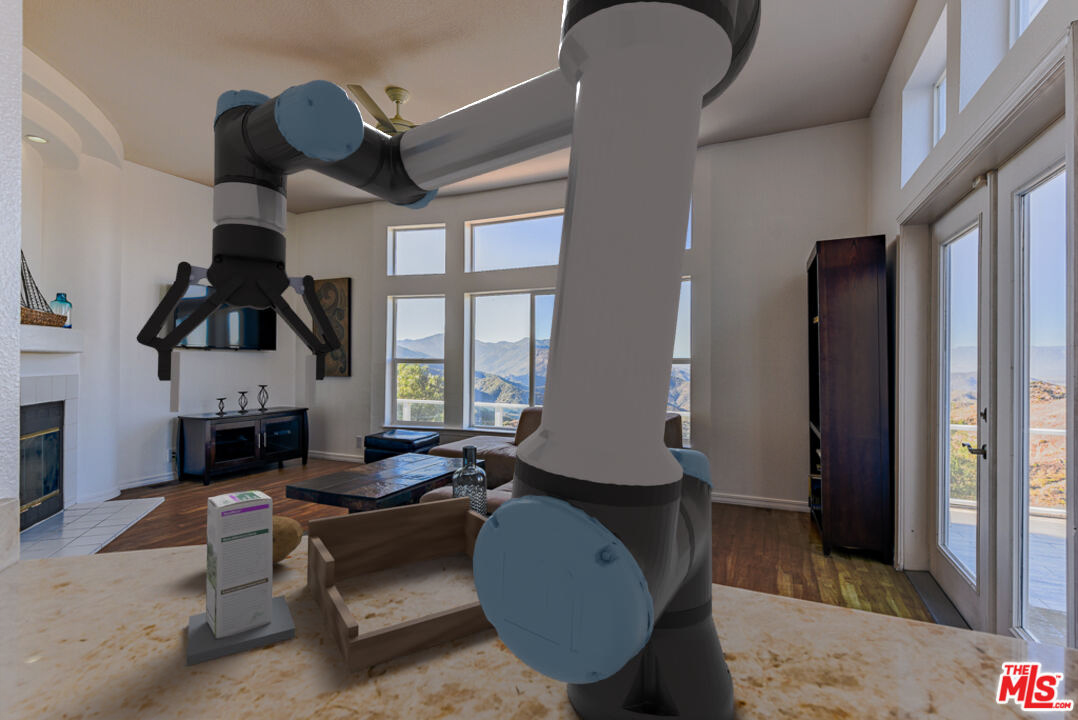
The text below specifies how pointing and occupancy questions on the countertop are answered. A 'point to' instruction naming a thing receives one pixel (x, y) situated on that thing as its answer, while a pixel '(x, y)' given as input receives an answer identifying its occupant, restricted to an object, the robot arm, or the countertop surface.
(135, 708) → the countertop surface
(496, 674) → the countertop surface
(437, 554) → the frame
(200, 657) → the slate mat
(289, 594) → the countertop surface
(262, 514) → the syrup box
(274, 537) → the potato
